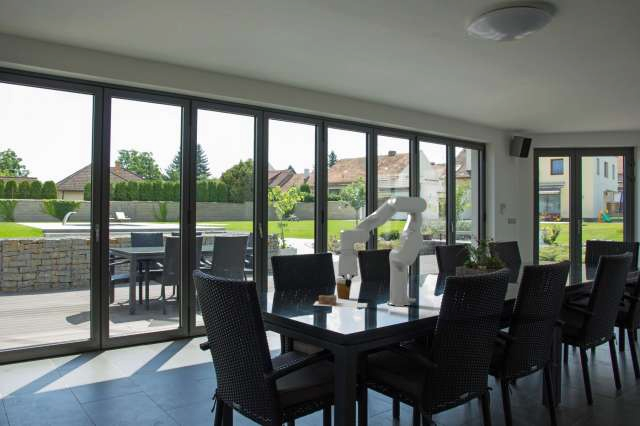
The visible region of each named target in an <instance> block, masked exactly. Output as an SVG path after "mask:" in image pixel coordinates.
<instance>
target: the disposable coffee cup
mask: <svg viewBox="0 0 640 426" xmlns="http://www.w3.org/2000/svg"><path fill="white" fill-rule="evenodd" d="M347 278H348V280H349V277H347ZM335 283H336V292H337V293H336V294H337V299H339V300H349V299H350V294H351V290H352V289H351V287H352V285H351V286H350V288H349V287H348V288H347V286H346V284H345V279H344V278H343V277H339V278H336V280H335ZM352 283H353V281H352V279H351V284H352Z"/></svg>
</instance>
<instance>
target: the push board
mask: <svg viewBox="0 0 640 426" xmlns="http://www.w3.org/2000/svg"><path fill="white" fill-rule="evenodd" d="M313 306H318V307H319V306H321V307H322V306H323V307H341V308H342V307H344V308H345V307H348V308H367V307H368V303H367V302H366V303H365V302H364V303H362V302H346V301H345V302H343V301H342V302H341V301H340V302H339V301H336V304H335V305H329V304H319V300H318V301H317V300H315V302H314V303H313Z"/></svg>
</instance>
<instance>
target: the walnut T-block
mask: <svg viewBox="0 0 640 426" xmlns="http://www.w3.org/2000/svg"><path fill="white" fill-rule="evenodd" d="M318 301H319V304H329V305H335V304H336V302H337V295H336V294H330V295H319V296H318Z"/></svg>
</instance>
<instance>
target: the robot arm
mask: <svg viewBox="0 0 640 426" xmlns="http://www.w3.org/2000/svg"><path fill="white" fill-rule="evenodd" d="M427 208H428V203H427V200H426V199H424V198H423V197H417V196H391V197H390V198H388V199H387V200H386V201H385V202H384V203H382V204H381V206H379V208H377V209H376V210H375V211H374V212H372V213H370V214H369V215H368V216H366V218H364V219H363V220H361V221H360V222H359V223H358V224H357V225H355V227H353V229H341V230H339V231H340V232H339V239H340V240H339V241H340V242H339V245H340V247H339V248H340V254H339V256H338V263H337V264H338V265H337V266H338V271H337V272H338V277H340V278H344V279H345V284H346V286H347V288H348V287H349V288H350V286H351V287H352V283H351V280H352V279H353V278H354V277H358V276H359V273H358V270H359V268H358V267H359V265H358V258H357V253H358V250H355V249H356V248H355V243H356V244H357V243H359V244H364V243H367V242H368V241H369V240H370V239H371V238H370V237H371V236H370V235H371V234H370V232H371V231H372V230H374V229H377V228H379V227H382V226H384V225H385V224H386V223H387V222H389V221H390V220H391V218H392V217H394V216H395V215H396V214H397V213H406V216H407V218H406V221H405V224H404V226H403V229H402V230H401V233H400V235H399V237H398V239H399V243H400V245H402V247H401V246H395V247H393V248H392V249H391V250H390V251H389V254H388V255H389V256H388V258H389V266H390V267H389V268H390V273H389V274H390V278H389V280H390V282H389V300H387V301H386V303H387V305H388V304H389V305H388V306H391V305H395V306H394V307H405V306H404V305H409V306H410V305H411V303H416V302H417V298H413V297H409V296H408V287H409V286H408V285H409V283H408V282H409V277H408V276H409V270H408V269H409V268H408V267H410V266H411V265H413V264H414V263H415V261H416V259H417V257H418V254H419V252H420V251H421V248H422V246H423V244H424V235H423V234H422V232H421V227H422V225H423V221H424V220H423V214H422V213H424V212H425V211H426V210H427ZM348 275H349V277H348ZM348 278H349V280H348Z"/></svg>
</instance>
